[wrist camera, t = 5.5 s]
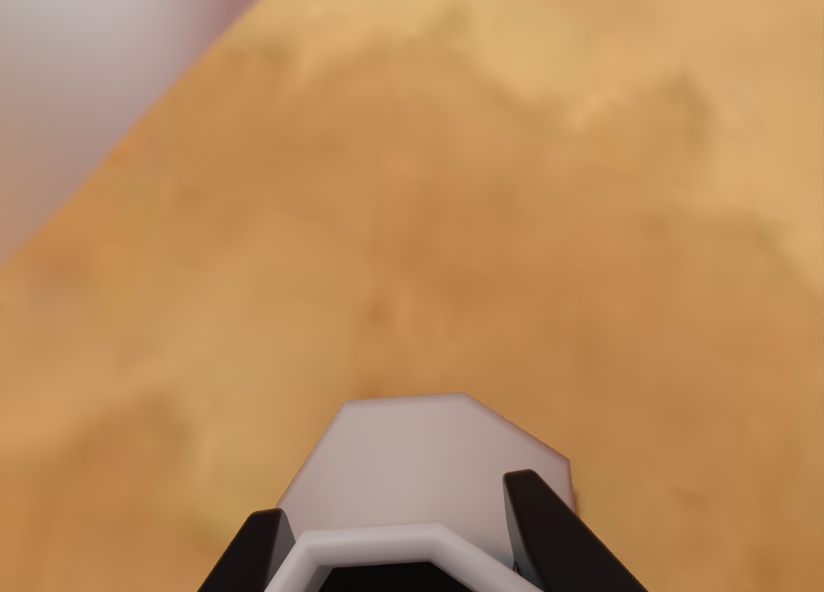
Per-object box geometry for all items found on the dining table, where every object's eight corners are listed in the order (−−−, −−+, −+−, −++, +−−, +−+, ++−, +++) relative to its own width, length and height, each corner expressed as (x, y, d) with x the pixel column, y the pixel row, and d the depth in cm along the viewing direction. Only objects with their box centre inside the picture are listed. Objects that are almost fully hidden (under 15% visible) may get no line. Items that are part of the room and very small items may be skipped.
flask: (321, 356, 17) (142, 229, 7) (612, 430, 16) (876, 406, 6) (233, 665, 15) (-153, 1061, 5) (548, 762, 14) (760, 1425, 5)
